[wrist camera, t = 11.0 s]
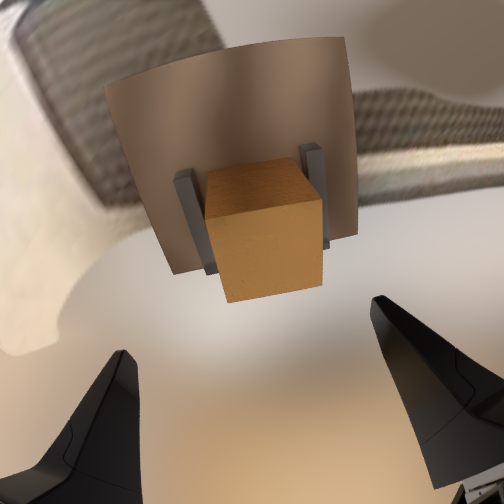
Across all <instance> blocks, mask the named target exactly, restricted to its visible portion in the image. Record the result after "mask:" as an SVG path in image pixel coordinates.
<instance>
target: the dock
mask: <svg viewBox="0 0 504 504" xmlns="http://www.w3.org/2000/svg"><path fill="white" fill-rule="evenodd" d="M103 89H104V93H105V96H106V100H107V103H108V106H109V109H110V113H111V116H112V119H113V122H114V125H115V128H116V131H117V134H118V137H119V140H120V143H121V146H122V149H123V152H124V155H125V158H126V160H127V163H128V166H129V169H130V171H131V174H132V177H133V179H134V182H135V185H136V187H137V190H138V192H139V195H140V198H141V200H142V203H143V205H144V208H145V210H146V213H147V215H148V217H149V220H150V222H151V225H152V227H153V229H154V232H155V234H156V236H157V239H158V241H159V243H160V246H161V248H162V250H163V252H164V255H165V257H166V259H167V261H168V263H169V266H170V268H171V270H172V272H173V274H174V275H175V274H180V273H184V272H189V271H194V270H198V269H203V268H204V270H205V272H206V275H212V274H216V273H219V271H218V268H217V264H216V260H215V257H214V253H213V250H212V246H211V242H210V238H209V235H208V231H207V227H206V224H205V205H206V191H207V178H208V171H210V170H215V169H220V168H226V167H231V166H237V165H242V164H248V163H254V162H260V161H266V160H273V159H279V158H286V157H291V158H292V160H293V161H294V162H295V163H296V165H297V166H298V167H299V169H300V170H301V171H302V173H303V174H304V175H305V177H306V178H307V179H308V181H309V182H310V183H311V185H312V186H313V188H314V189H315V190H316V192H317V193H318V194H319V196H320V197H321V199H322V217H323V250H325V249H329V248H330V243H329V241H330V240H335V239H339V238H344V237H348V236H353V235H356V234H358V173H357V149H356V133H355V120H354V108H353V98H352V89H351V81H350V73H349V66H348V59H347V52H346V47H345V40H344V37H317V38H301V39H289V40H279V41H271V42H263V43H256V44H250V45H244V46H239V47H233V48H228V49H223V50H218V51H213V52H209V53H205V54H201V55H197V56H193V57H189V58H185V59H182V60H178V61H175V62H172V63H168V64H165V65H162V66H159V67H156V68H153V69H150V70H147V71H144V72H141V73H139V74H136V75H133V76H131V77H128V78H125V79H123V80H120V81H118V82H115V83H113V84H111V85H108V86H106V87H104V88H103Z"/></svg>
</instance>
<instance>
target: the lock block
mask: <svg viewBox="0 0 504 504" xmlns="http://www.w3.org/2000/svg"><path fill="white" fill-rule="evenodd" d="M205 224H206V227H207V231H208V235H209V238H210V242H211V246H212V250H213V253H214V257H215V260H216V264H217V268H218V271H219V275H220V278H221V281H222V285H223V289H224V292H225V295H226V299H227V302H228V303H232V302H238V301H243V300H249V299H254V298H260V297H265V296H271V295H276V294H282V293H287V292H292V291H297V290H302V289H307V288H312V287H316V286H321V285H322V270H323V268H322V267H323V217H322V199H321V197H320V196H319V194H318V193H317V192H316V190H315V189H314V188H313V186H312V185H311V183H310V182H309V181H308V179H307V178H306V177H305V175H304V174H303V173H302V171H301V170H300V169H299V167H298V166H297V165H296V163H295V162H294V161H293V160H292V158H291V157H286V158H279V159H273V160H266V161H260V162H254V163H248V164H242V165H237V166H231V167H226V168H220V169H215V170H210V171H208V178H207V191H206V205H205Z"/></svg>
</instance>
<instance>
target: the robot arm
mask: <svg viewBox="0 0 504 504" xmlns="http://www.w3.org/2000/svg"><path fill="white" fill-rule="evenodd" d="M370 317H371V321H372V323H373V327H374V330H375V333H376V335H377V339H378V342H379V345H380V348H381V351H382V354H383V357H384V359H385V361H386V363H387V366H388V368H389V370H390V372H391V375H392V377H393V380H394V382H395V384H396V387H397V389H398V392H399V394H400V396H401V399H402V401H403V404H404V406H405V408H406V411H407V414H408V416H409V418H410V421H411V424H412V427H413V429H414V432H415V434H416V437H417V440H418V443H419V445H420V448H421V451H422V454H423V457H424V460H425V463H426V466H427V469H428V472H429V475H430V478H431V481H432V484H433V487H434V489H438V488H441V487H445V486H447V485H450V484H453V483H456V482H459V481H462V482H463V483H462V484H461V485H460V487H459V489H458V491H457V493H456V495H455V497H454V499H453V501H452V503H451V504H504V379H503V378H501V377H499V376H498V375H496V374H494V373H493V372H491V371H489V370H488V369H486V368H484V367H483V366H481V365H480V364H478V363H477V362H475V361H474V360H472V359H471V358H469V357H468V356H466V355H465V354H464V353H463V352H461V351H460V350H459V349H457V348H455V347H454V346H453V345H452V344H451V343H449V342H447V340H445V339H444V338H443V337H441V336H440V335H439V334H437V333H436V332H434V331H433V330H432V329H430V328H429V327H428V326H426V325H425V324H424V323H422V322H421V321H419V320H418V319H417V318H415V317H414V316H413V315H411V314H410V313H408V312H407V311H405V310H404V309H403V308H401V307H400V306H398V305H397V304H395V303H394V302H393V301H391V300H390V299H389V298H387V297H386V296H384V295H380V296H377V297H374V298H373V299H372V303H371V309H370ZM139 414H140V397H139V383H138V367H137V363H136V361H135V360H134V359H133V357H132V356H131V355H130V354H129V353H128V352H127V351H126V350H117V351H115V352H114V354H113V355H112V356H111V358H110V359H109V361H108V362H107V363H106V365H105V366H104V368H103V369H102V371H101V372H100V374H99V375H98V377H97V378H96V379H95V381H94V382H93V384H92V385H91V387H90V388H89V390H88V391H87V393H86V394H85V396H84V397H83V399H82V401H81V402H80V403H79V405H78V407H77V408H76V410H75V411H74V413H73V414H72V416H71V417H70V420H68V422H67V423H66V425H65V427H64V428H63V430H62V431H61V433H60V434H59V436H58V437H57V438H56V440H55V441H54V443H53V444H52V445H51V447H50V448H49V449H48V451H47V452H46V453H45V455H44V456H43V457H42V459H41V460H40V461H39V462H38V464H36V465H35V466H34V467H32V468H30V469H28V470H25V471H22V472H20V473H17V474H14V475H11V476H8V477H5V478H2V479H0V504H143V499H142V488H141V471H140V443H139V442H140V435H139V434H140V432H139V425H140V423H139V422H140V420H139V418H140V415H139Z"/></svg>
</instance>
